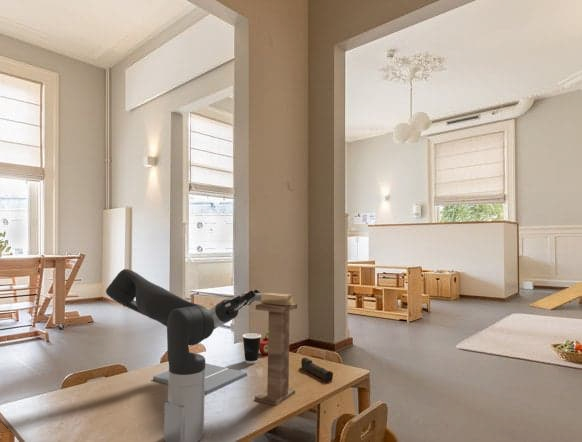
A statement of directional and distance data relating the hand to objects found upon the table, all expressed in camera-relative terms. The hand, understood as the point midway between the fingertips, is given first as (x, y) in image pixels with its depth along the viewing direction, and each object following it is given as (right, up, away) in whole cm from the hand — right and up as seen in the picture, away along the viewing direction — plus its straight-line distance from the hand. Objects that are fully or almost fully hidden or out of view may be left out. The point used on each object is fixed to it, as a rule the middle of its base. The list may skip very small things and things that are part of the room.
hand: (256, 292), depth 136 cm
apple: (0, -36, +43) cm, 56 cm away
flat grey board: (-22, -34, +11) cm, 41 cm away
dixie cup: (-5, -35, +31) cm, 47 cm away
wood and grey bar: (+3, -3, -2) cm, 5 cm away
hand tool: (+21, -35, +16) cm, 44 cm away
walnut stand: (+7, -33, -6) cm, 34 cm away
